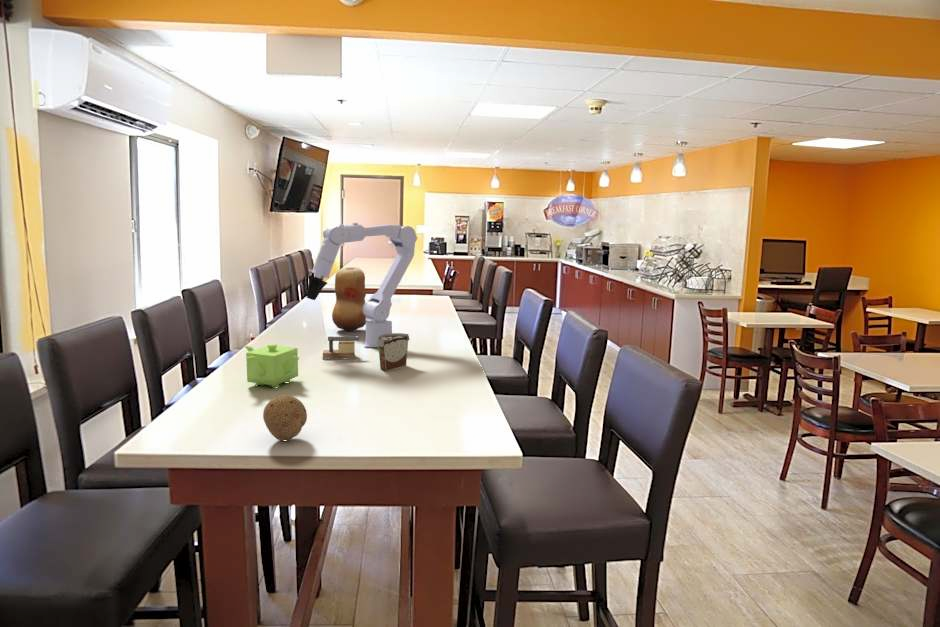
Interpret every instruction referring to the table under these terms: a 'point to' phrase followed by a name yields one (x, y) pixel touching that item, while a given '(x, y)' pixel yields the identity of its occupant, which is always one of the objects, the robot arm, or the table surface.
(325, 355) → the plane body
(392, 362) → the food container
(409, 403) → the table surface
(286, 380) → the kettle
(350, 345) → the tan wooden block
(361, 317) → the butternut squash
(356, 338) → the lever
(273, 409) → the natural sponge
